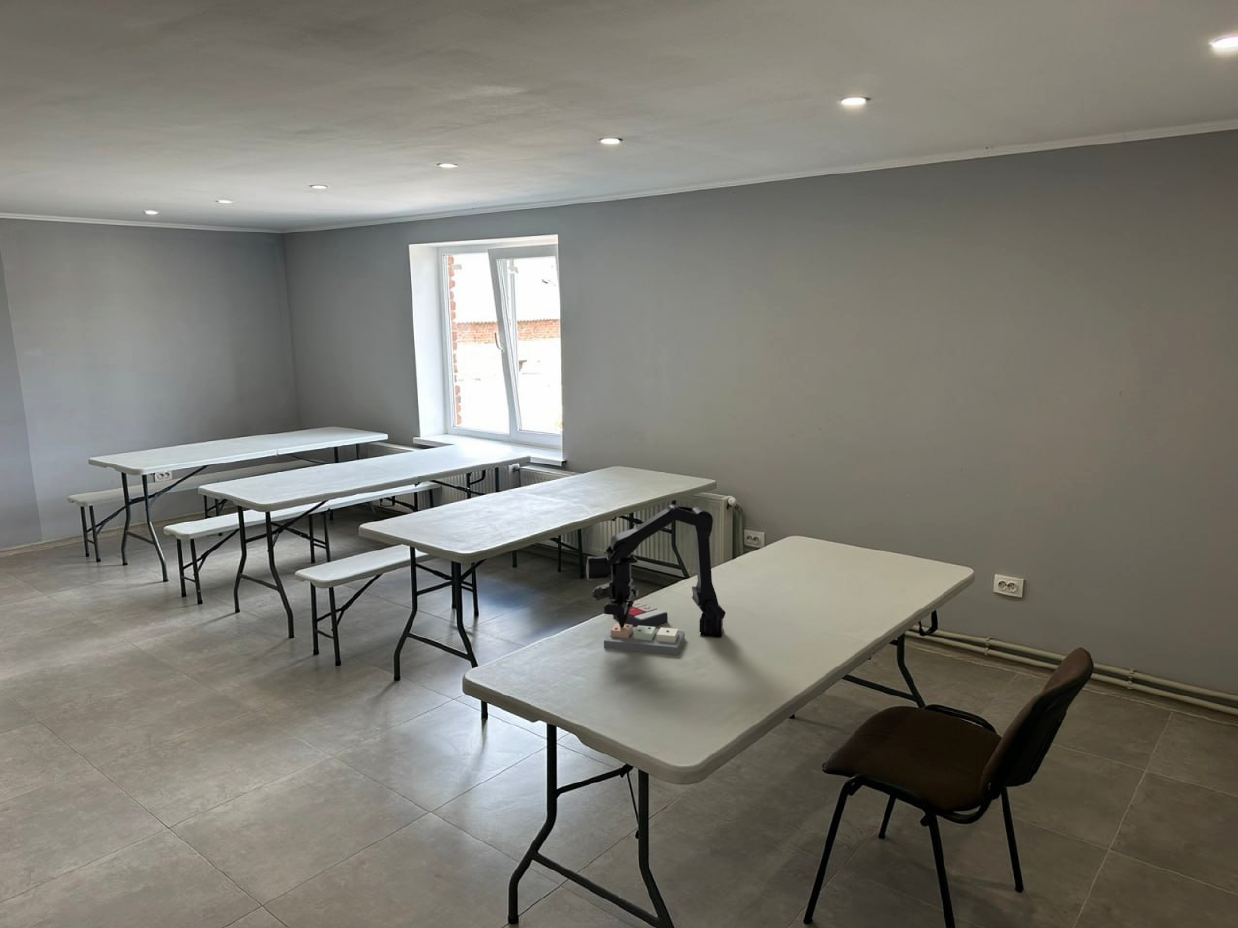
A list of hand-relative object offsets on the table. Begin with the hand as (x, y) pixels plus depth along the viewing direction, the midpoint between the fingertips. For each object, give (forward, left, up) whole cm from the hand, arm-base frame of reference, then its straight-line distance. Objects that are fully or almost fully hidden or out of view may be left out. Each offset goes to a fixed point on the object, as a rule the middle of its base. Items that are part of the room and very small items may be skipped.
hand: (622, 626), depth 241 cm
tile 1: (-14, 0, -3) cm, 14 cm away
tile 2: (-7, 0, -3) cm, 8 cm away
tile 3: (0, 0, -3) cm, 3 cm away
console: (-7, 0, -5) cm, 8 cm away
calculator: (-1, -18, -5) cm, 19 cm away
